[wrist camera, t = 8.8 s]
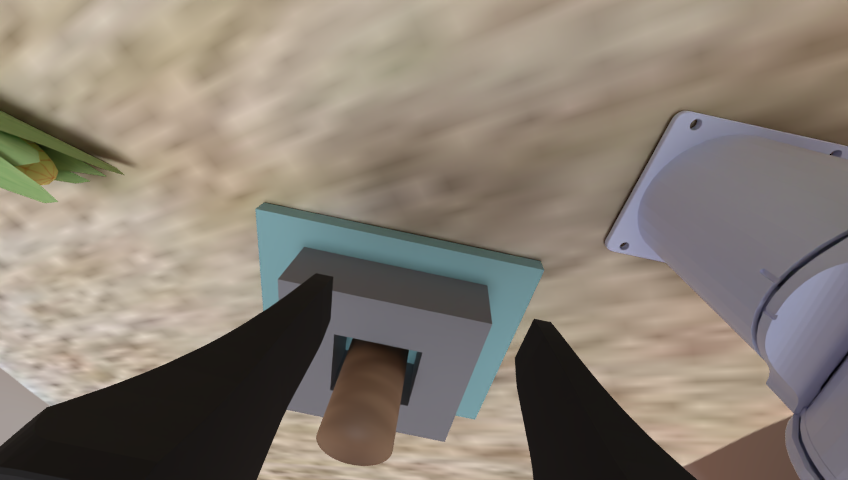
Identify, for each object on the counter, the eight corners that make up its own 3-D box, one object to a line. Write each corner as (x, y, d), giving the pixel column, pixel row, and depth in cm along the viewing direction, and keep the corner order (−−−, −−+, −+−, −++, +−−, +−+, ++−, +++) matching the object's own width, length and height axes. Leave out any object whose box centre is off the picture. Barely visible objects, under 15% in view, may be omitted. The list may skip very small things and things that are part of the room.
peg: (410, 311, 23) (389, 424, 16) (412, 352, 25) (395, 468, 18) (353, 309, 23) (309, 418, 16) (361, 350, 25) (324, 462, 18)
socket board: (540, 261, 21) (559, 308, 17) (474, 408, 29) (477, 463, 25) (264, 202, 21) (218, 236, 17) (274, 367, 29) (245, 416, 25)
